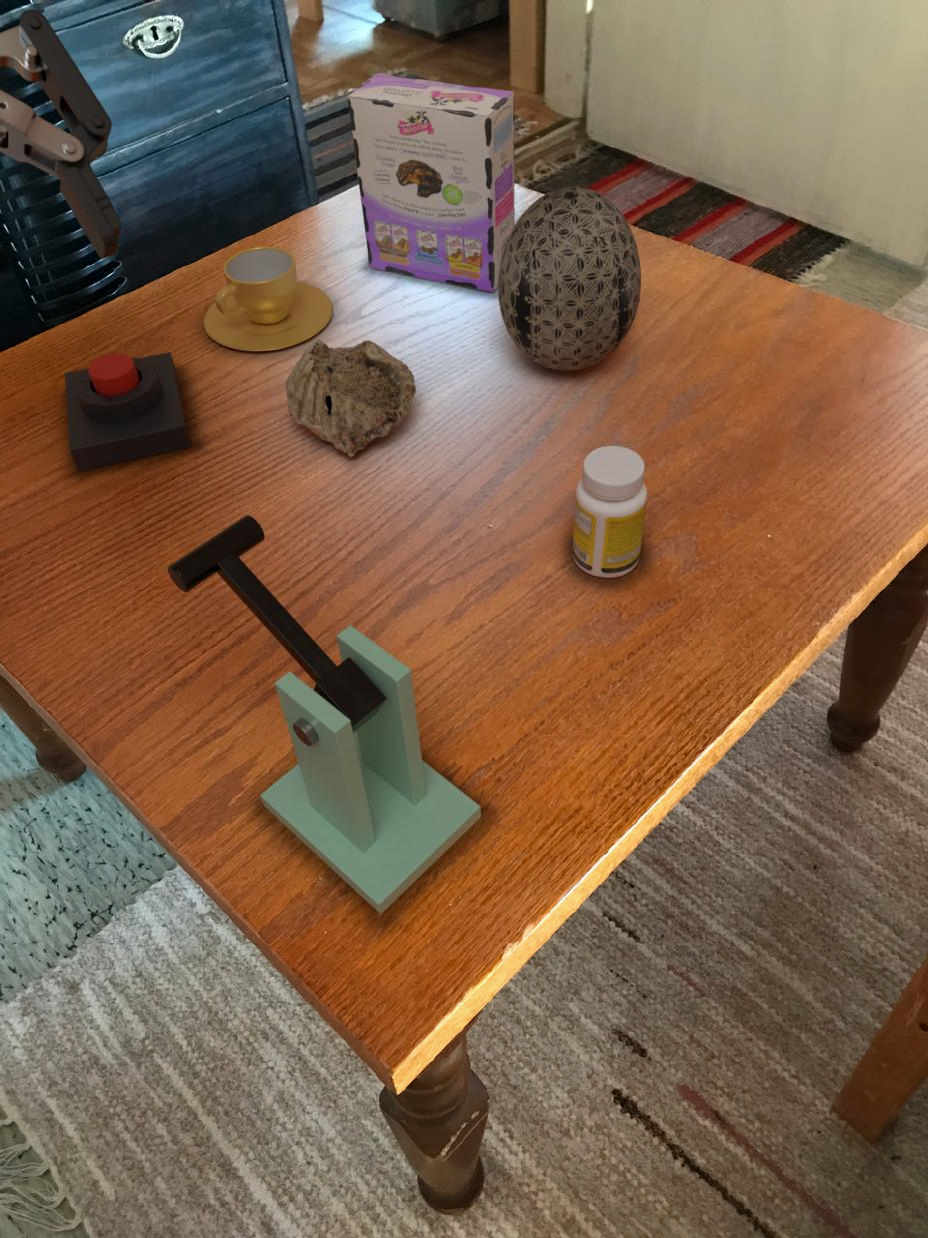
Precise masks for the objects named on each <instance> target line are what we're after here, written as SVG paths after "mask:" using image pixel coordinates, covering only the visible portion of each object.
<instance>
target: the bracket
mask: <svg viewBox="0 0 928 1238" xmlns="http://www.w3.org/2000/svg"><path fill="white" fill-rule="evenodd" d="M336 640H337V645H338V649H339V654H340V659H341V663H342V662H343V661H344V660H346V659H347V658H348V657H350V658H351V659H352V660H353V661H354V662H355V663H356V665H357V666H358V667H359V668H360V669H361V670H362V671H363V672H364V673H365V675H366V676H367V677H368V678H369V679H370V680H371V681H372V682H373V683H374V684H375V686H376V687H377V688H378V689H379V690H380V691H381V692H382V693H383V694H384V696H385V697H386V698H387V699H386V700H385V702H384V703H383V705H382V707H381V708H380V710H379V711H378V713H377V714H376V715H374V716H373V717H372V718H371V719H370V720H369V721H367V722H366V723H365V724H364V725H363V726H361V727H360V728H359V729H358V730H357V731H355V732H354V733H353V731H352V726H351V721H350V719H348V718H347V717H346V716H345V715H343V714H342V713H341V712H340V711H338V710H337V709H336V708H335V707H333V706H332V705H331V704H330V703H329V702H327V701H326V700H325V699H324V698H322V697H321V696H320V695H319V694H317V693H316V692H315V691H314V690H313V688H312V687H310V686H309V685H308V684H307V683H305V682H304V681H303V680H302V679H300V677H298V676H296V675H295V673H293V672H292V671H288V672H286V673H285V674H284V675H283V676H281V677H280V678H278V680H276V681H274V687H275V689H276V693H277V696H278V699H279V703H280V706H281V709H282V713H283V716H284V718H285V723H286V725H287V729H288V733H289V736H290V739H291V743H292V746H293V751H294V753H295V757H296V760H297V764H296V765H295V766H293V767H292V768H291V769H290V770H288V771H287V772H286V773H285V774H284V775H283V776H281V777H280V778H279V779H278V780H276V781H275V782H274V783H273V784H271V786H270V787H268V788H267V789H266V790H264V791H263V792H262V793H261V794H260V795H259V796H260V799H261V802H262V805H263V807H264V808H265V809H266V810H268V812H269V813H271V814H272V815H273V816H274V817H275V818H276V819H277V820H278V821H279V822H281V824H283V826H285V827H286V829H288V830H289V831H290V832H291V833H292V834H293V835H294V836H295V837H297V838H298V839H299V840H300V841H301V842H302V843H303V844H304V845H305V846H306V847H307V848H308V849H310V850H311V851H312V852H313V853H314V854H315V855H316V856H317V857H318V858H319V859H320V860H322V862H324V864H326V865H327V866H328V867H329V868H330V869H331V870H332V871H333V872H334V873H335V874H336V875H338V876H339V877H340V878H341V879H342V880H343V881H344V882H345V883H346V884H347V885H348V886H349V887H350V888H352V889H353V890H354V891H355V892H356V893H357V894H358V895H359V896H360V897H361V898H363V900H365V902H367V903H368V904H369V905H370V906H371V907H372V908H373V909H374V910H375V911H377V912H378V914H380V915H383V913H384V912H385V911H386V910H387V909H388V908H389V907H390V906H391V905H393V903H394V902H396V900H398V899H399V897H401V896H402V895H403V894H404V893H405V892H406V891H407V890H408V889H409V888H410V887H411V886H412V885H413V884H415V882H416V881H417V880H418V879H419V878H420V877H421V876H422V875H423V874H425V872H427V870H429V868H430V867H432V865H433V864H434V863H436V862H437V861H438V860H439V859H440V858H441V857H442V856H443V855H444V854H445V853H446V852H447V851H448V850H449V849H450V848H452V846H453V845H454V844H455V843H456V842H457V841H458V840H459V839H461V838H462V836H463V835H465V833H466V832H467V831H468V830H470V829H471V828H472V826H473V825H475V824H476V823H477V822H478V821H480V819H481V818H482V809H481V808H482V807H481V806H480V805H479V804H478V803H477V802H476V801H474V800H473V799H472V798H471V797H470V796H468V795H467V794H465V793H464V792H463V791H462V790H460V788H458V787H457V786H455V785H454V784H453V783H452V782H451V781H449V780H448V779H447V778H446V777H444V776H443V775H442V774H440V773H439V772H438V771H437V770H435V768H433V767H432V766H431V765H429V764H428V763H427V762H426V761H424V760H423V754H422V747H421V739H420V730H419V724H418V723H419V722H418V715H417V706H416V699H415V691H414V683H413V676H412V669H411V668H410V667H408V666H407V665H405V664H404V663H403V662H401V661H400V660H399V659H397V658H396V657H395V656H394V655H392V654H391V653H389V652H388V651H387V650H386V649H384V648H383V647H382V646H381V645H379V644H377V643H376V642H374V640H372V639H371V638H370V637H368V636H367V635H365V634H364V633H362V632H361V631H360V630H358V629H357V628H356V627H355V626H353V625H352V624H350V625H348V626H347V627H346V628H344V629H342V630H341V632H339V633H338V634H336Z"/></svg>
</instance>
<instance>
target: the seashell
mask: <svg viewBox="0 0 928 1238" xmlns="http://www.w3.org/2000/svg"><path fill="white" fill-rule="evenodd" d="M415 382H416V381H415V376H414V373H413V372H412V370H411V369H410V368H409V366H408V365H407V364H406V363H405V362H403V361H402V360H400V359H398V358H396V357H395V356H393V355H391V354H390V353H389V352H388V351H387V350H386V349H384V348H382V347H381V346H380V345H379V344H377V343H375V342H373V341H372V340H370V339H368V340H367V339H366V340H363V341H362V342H360V343H358V344H355V346H345V347H340V346H339V347H335V348H334V347H332V346H330V347H329V346H328V344H327V343H324V342H323V340H322V339H317V340H316V341H315V342H313V344H311V345H310V346H308V347H307V349H306V350H305V351H304V352H303V354H302V355H301V357H300V358H299V359H298V360H297V361H296V363H295V364H294V366H293V368H292V369H291V371H290V372H289V374H288V376H287V379H286V381H285V389H286V391H285V395H286V397H287V403H288V404H287V408H288V413H289V414H290V416H292V417H293V418H294V419H295V423H296V424H297V425H301V426H304V427H305V428H307V429H308V430H309V431H310V432H311V433H312V434H314V435H316V436H317V437H318V438H319V439H320V440H322V441H326V442H329V443H331V444H332V446H333V447H334V448H335V449H336V450H339V451H341V452H343V453H344V454H347V456H348V457H349V458H353V457H355V456H356V453H357V452H358V451H359V450H363V449H365V448H366V447H367V445H369V444H370V443H372V442H373V440H375V439H376V438H385V437H386V436H387V435H389V432H390V431H391V430H392V429H393V428H394V426H396V427H398V426H399V425H401V423H402V421H403V419H404V417H405V415H406V414H408V413H409V412H410V410H411V409H410V408H411V401H412V399H414V398H415V394H416V393H417V386H416V384H415Z"/></svg>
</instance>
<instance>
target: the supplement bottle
mask: <svg viewBox="0 0 928 1238" xmlns="http://www.w3.org/2000/svg"><path fill="white" fill-rule="evenodd" d="M644 480H645V462H644V460H643V458H642V456H641V455H640V454H639V453H638V452H637V451H634V450H633V449H631V448H628V447H626V446H620V445H606V446H605V445H604V446H601V447H598V448H595V449H593V450H591V451H590V452H589V453H588V454H587V455H586V456H585V458H584V459H583V463H582V473H581V478H580V479H579V481H578V483H577V485H576V488H575V497H574V515H573V516H574V517H573V533H572V534H573V535H572V557H573V560H574V562H575V564H576V565H577V567H578V568H579V569H581V570H582V571H583V572H584V573H585V574H588V575H590V576H594V577H597V578H603V579H604V578H605V579H613V578H614V579H615V578H619V577H622V576H625V575H627V574H629V573H631V572H632V571H633V570H634V569H635V568H636V566H637V564H639V561H640V558H641V557H640V556H641V552H642V551H641V549H642V542H643V535H644V527H645V520H646V519H645V518H646V509H647V503H648V502H647V501H648V489H647V485H646V484H645V482H644Z"/></svg>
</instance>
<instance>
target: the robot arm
mask: <svg viewBox="0 0 928 1238" xmlns="http://www.w3.org/2000/svg"><path fill="white" fill-rule="evenodd" d="M3 67H5V68H6V67H7V68H10V69H13V70H14V71H16V72H17V73H18V74H19V75H20V76H21V77H22V79H24V80H25V81H28V82H31V83H37V82H38V83H39V85H40V86H41V88H42V89H43V91H44V93H45V94H46V95H47V97H48V99H49V101H50V102H51V103H52V104H53V106H54V108H55V109H56V111H57V112H58V115H60V117H61V119H62V120H63V121H64V123H65V124H66V126H67V128H68V129H69V132H67V131H66V130H64V129H62V128H60V127H58V126H56V125H55V124H53V123H51V122H49V121H48V120H45V119H44V118H42V117H41V116H39V115H38V114H37V113H36V111H35V109H33V108H32V107H31V106H29V105H28V104H27V103H26V102H23V101H21V100H20V99H18V98H16V97H14V96H12V95H10V94H9V93H7V92H5V91H4V90H2V89H0V153H1V154H3V155H5V156H7V157H9V158H10V159H13V160H14V161H16V162H19V163H28V164H30V165H32V166H34V167H36V168H37V169H39V170H42V171H43V172H45V173H47V174H48V175H51V176H52V177H54V178H56V179H58V180H59V181H60V186H59V191H60V193H61V194H62V196H63V198H64V199H65V201H66V203H67V205H68V206H69V208H70V210H71V211H72V213H73V215H74V216H75V218H76V220H77V222H78V223H79V225H80V227H81V228H82V230H83V232H84V234H85V235H86V237H87V239H88V240H89V242H90V244H91V245H92V247H93V249H94V251H95V253H96V254H97V256H98V257H99V258H100V259H101V260H104V259H107V258H108V257H109V258H110V257H111V256H114V255H116V254H117V251H118V249H119V244H120V243H119V242H120V241H119V238H120V234H121V231H122V223H121V217H120V214H119V213H118V211H117V210H116V208H115V205H113V203H112V200H111V199H110V197H109V196H108V194H107V192H106V190H105V189H104V187H103V186H102V184H101V182H100V180H99V178H98V177H97V176H96V174H95V172H94V170H93V168H92V165H91V164H92V163H94V161H95V160H96V159H97V158H101V157H103V156H104V155H105V154H106V152H107V150H108V146H109V142H108V141H109V138H110V137H109V136H110V134H111V130H112V127H113V126H112V125H113V123H112V120H111V117H110V115H109V114H108V112H107V111H106V110H105V108H104V107H103V105H102V103H101V102H100V100H99V98H98V97H97V95H96V94H95V93H94V91H93V89H92V87H91V86H90V85H89V83H88V82H87V80H86V78H85V77H84V75H83V74H82V72H81V71H80V69H79V67H78V66H77V64H76V62H75V61H74V60H73V58H72V57H71V55H70V53H69V52H68V50H67V49H66V47H65V45H64V44H63V42H62V41H61V38H60V37H59V36H58V35H57V33H56V31H55V30H54V28H53V27H52V25H51V24H50V22H49V21H48V19H47V17H46V16H45V15H44V14H43V13H42V12H40V11H38V10H35V9H25V10H24V11H23V12H22V13H21V14H20V16H19V25H16V26H14V27H11V28H9V29H6V30H4V31H1V32H0V68H3Z"/></svg>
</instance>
